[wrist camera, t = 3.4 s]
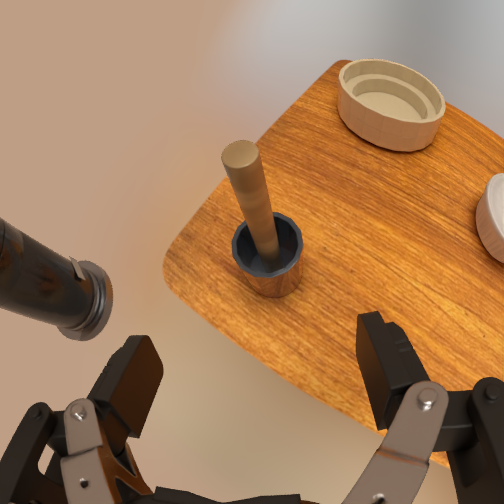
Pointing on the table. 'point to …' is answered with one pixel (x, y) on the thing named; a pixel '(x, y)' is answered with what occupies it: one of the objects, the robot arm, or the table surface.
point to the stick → (253, 199)
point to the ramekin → (492, 217)
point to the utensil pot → (290, 254)
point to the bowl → (389, 104)
